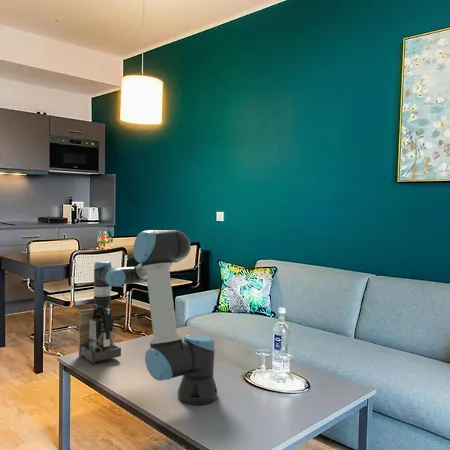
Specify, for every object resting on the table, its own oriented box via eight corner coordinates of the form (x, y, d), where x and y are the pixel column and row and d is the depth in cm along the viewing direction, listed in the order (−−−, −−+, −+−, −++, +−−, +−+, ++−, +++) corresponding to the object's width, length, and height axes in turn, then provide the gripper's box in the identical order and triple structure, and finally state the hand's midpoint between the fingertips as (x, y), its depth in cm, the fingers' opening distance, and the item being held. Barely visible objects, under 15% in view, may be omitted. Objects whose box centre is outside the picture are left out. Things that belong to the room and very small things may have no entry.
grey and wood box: (121, 360, 203) (122, 313, 201) (91, 367, 194) (92, 317, 193) (106, 351, 214) (107, 306, 213) (78, 357, 205) (79, 310, 204)
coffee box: (96, 357, 198) (97, 321, 197) (88, 353, 202) (88, 319, 201) (113, 352, 205) (114, 318, 204) (105, 349, 209) (105, 315, 208)
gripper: (121, 298, 195) (120, 348, 196) (100, 290, 212) (99, 336, 213) (105, 300, 190) (104, 351, 191) (84, 292, 208) (84, 339, 208)
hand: (101, 343), depth 202 cm, fingers open, 10 cm apart
